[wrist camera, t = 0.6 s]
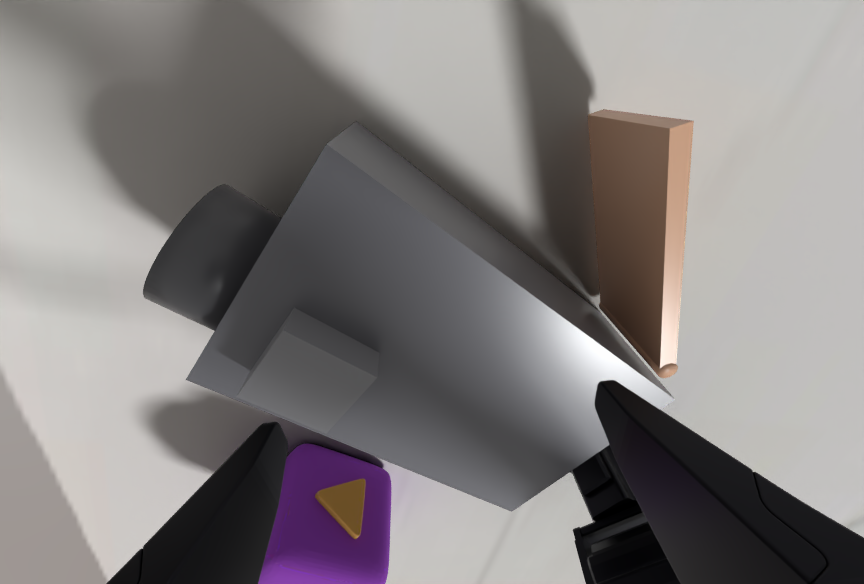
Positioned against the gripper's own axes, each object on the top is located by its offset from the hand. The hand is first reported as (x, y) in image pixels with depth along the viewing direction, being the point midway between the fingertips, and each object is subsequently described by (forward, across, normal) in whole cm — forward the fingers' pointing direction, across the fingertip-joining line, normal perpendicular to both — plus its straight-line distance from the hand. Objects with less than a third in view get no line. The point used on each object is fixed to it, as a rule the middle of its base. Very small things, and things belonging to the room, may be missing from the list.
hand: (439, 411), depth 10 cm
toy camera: (+14, +13, +21) cm, 28 cm away
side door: (+12, -11, 0) cm, 17 cm away
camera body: (+13, +1, +4) cm, 14 cm away
